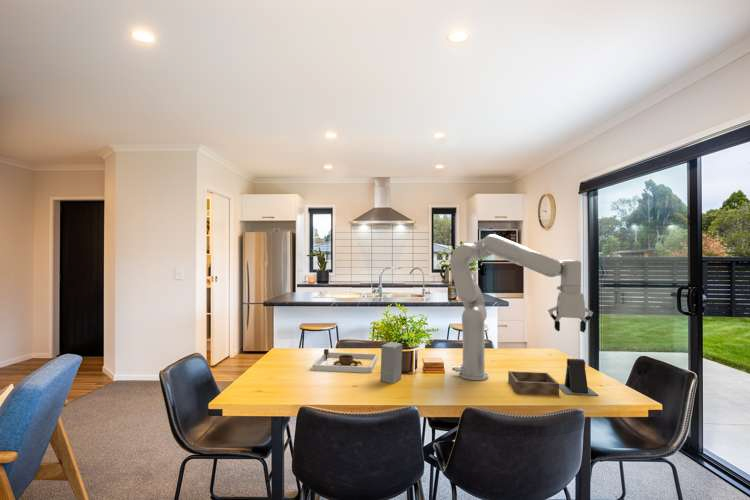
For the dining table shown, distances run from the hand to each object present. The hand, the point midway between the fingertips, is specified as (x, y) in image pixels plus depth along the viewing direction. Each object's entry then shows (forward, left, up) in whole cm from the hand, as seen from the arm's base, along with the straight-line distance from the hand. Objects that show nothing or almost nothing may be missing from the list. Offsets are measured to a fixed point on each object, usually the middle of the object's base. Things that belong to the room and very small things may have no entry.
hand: (569, 331), depth 164 cm
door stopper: (+1, -3, -23) cm, 23 cm away
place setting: (-100, +24, -24) cm, 106 cm away
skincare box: (-74, -1, -23) cm, 77 cm away
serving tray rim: (-98, +22, -23) cm, 103 cm away
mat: (+1, -3, -23) cm, 23 cm away
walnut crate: (-16, -3, -23) cm, 28 cm away
